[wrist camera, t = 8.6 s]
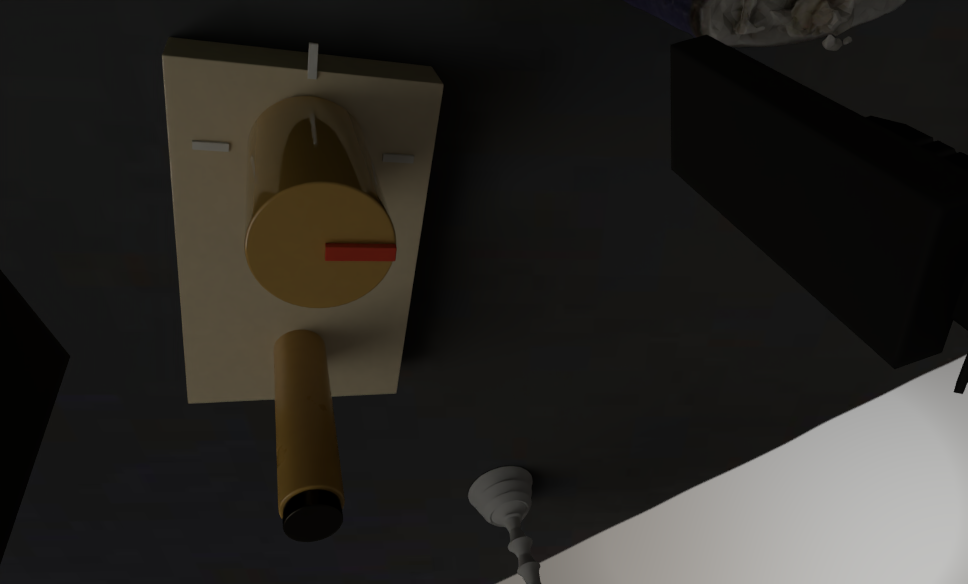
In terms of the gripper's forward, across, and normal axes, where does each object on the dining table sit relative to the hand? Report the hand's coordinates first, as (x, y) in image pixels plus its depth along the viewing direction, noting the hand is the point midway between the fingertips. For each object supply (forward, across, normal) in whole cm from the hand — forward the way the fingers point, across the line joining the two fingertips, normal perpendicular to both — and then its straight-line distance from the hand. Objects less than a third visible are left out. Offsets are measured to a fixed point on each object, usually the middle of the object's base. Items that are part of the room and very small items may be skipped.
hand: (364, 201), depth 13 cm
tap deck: (+19, -4, -11) cm, 22 cm away
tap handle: (+16, -2, -6) cm, 17 cm away
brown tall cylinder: (+18, -6, -16) cm, 24 cm away
